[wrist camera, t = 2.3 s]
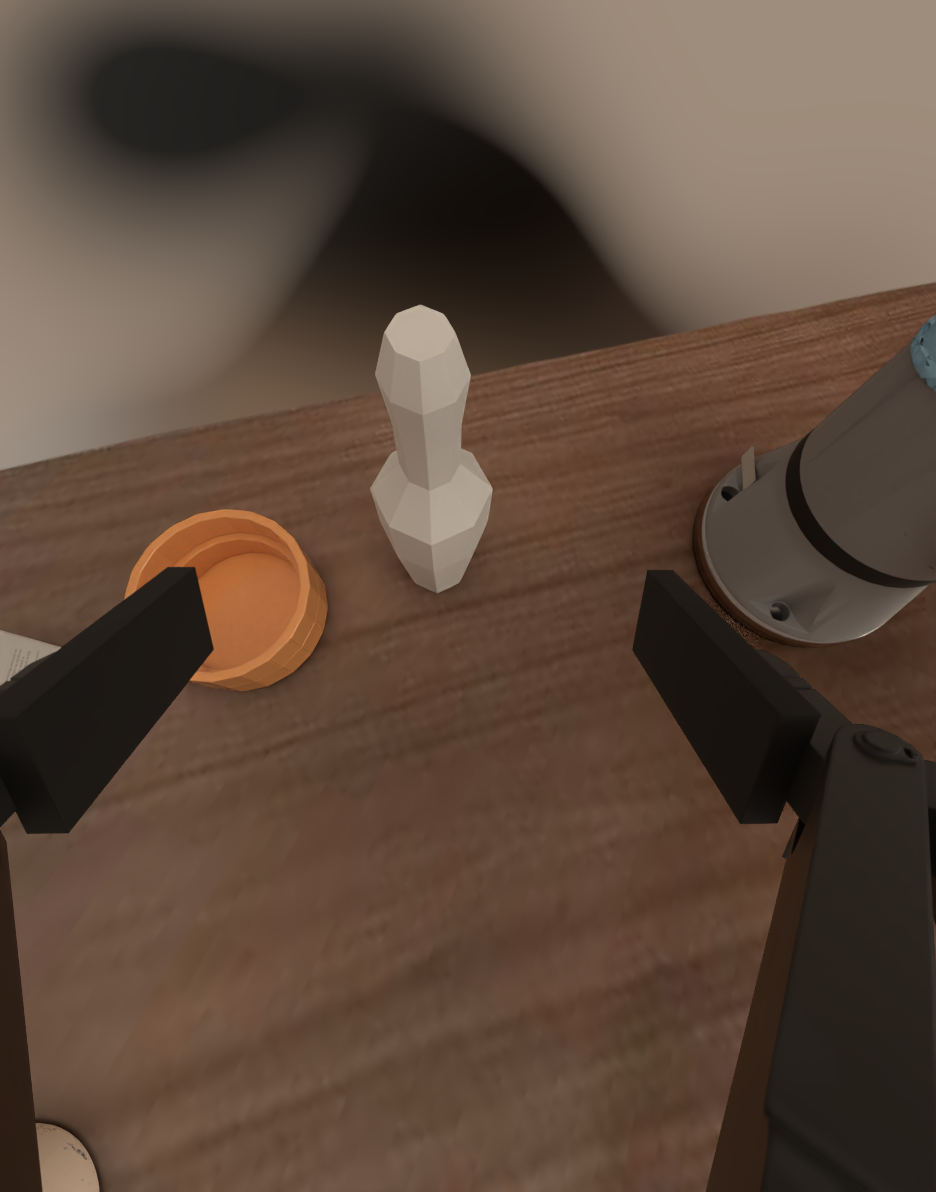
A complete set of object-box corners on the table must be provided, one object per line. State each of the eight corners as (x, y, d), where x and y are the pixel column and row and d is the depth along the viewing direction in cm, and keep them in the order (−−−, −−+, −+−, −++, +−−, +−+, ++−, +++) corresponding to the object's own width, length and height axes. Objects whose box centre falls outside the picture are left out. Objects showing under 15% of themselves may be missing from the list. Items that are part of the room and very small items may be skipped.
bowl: (317, 529, 39) (296, 495, 34) (340, 672, 36) (320, 658, 30) (167, 559, 38) (121, 527, 32) (176, 708, 35) (127, 700, 29)
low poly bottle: (437, 620, 37) (418, 446, 16) (377, 563, 38) (286, 331, 17) (496, 562, 38) (550, 334, 17) (437, 509, 40) (421, 234, 19)
